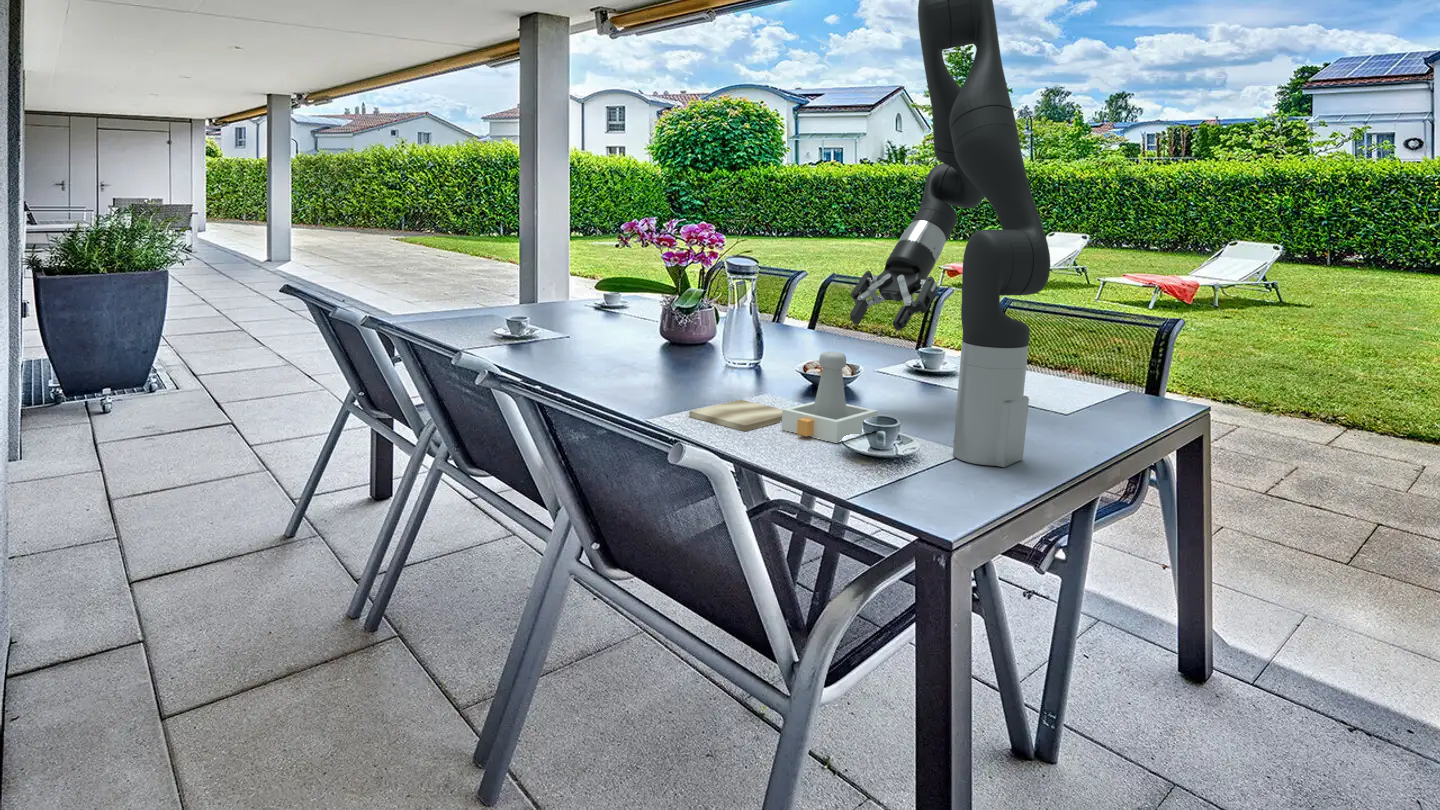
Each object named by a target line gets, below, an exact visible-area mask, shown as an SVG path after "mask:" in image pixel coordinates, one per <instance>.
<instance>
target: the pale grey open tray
mask: <svg viewBox="0 0 1440 810" xmlns="http://www.w3.org/2000/svg"><path fill="white" fill-rule="evenodd" d="M814 403H815V400H814V401H811V402H807V403H804V404H803V403H802V404H797V405H796V406H795V405H794V406H791V407H787V408H781V409H782V422H781V431H783V430H785V431H784V432H787V431H789V432H788V433H791V432H794V433H793V434H795V433H797V434H796V435H799V436H803V437H806V438H808V437H807V436H811V437H815V438H820V439H823V440H827V441H831V442H839V441H840V440H841V439H842V438H843V437H844V436H846V435H850V434H861V433H862V422H863V421H864V420H865V419H867V418H870V417H875V416H877V417H878V415H879V414H878V412H879V411H878V410H876V409H871V408H867V407H863V406H862V407H861V406H858V405H852V404H848V403H846V408H847V415H848V417H844V418H841V419H837V420H834V419H830V418H826V417H821V416H817V415H813V414H812V412H813V408H814Z"/></svg>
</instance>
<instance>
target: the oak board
mask: <svg viewBox="0 0 1440 810" xmlns="http://www.w3.org/2000/svg"><path fill="white" fill-rule="evenodd" d="M782 409H783V408H778V407H774V406H770V405H766V404H761V403H757V402H753V401H748V400H745V399H744V400H743V399H737V400H733V401H729V402H723V403H719V404H715V405H710V406H706V407H702V408H698V409H697V408H696V409H693V410H689V412H688V413H689V415H688V417H690V418H693V419H697V420H701V421H703V422H708V423H711V424H715V425H716V424H717V425H720V426H723V427H728V428H730V429H735V430H739V431H742V432H749V431H753V430H755V429H760V428H764V427H768V426H771V425H770V424H772V425H774V423H776V424H778V423H777V422H779V423H781V422H780V421H782ZM767 425H768V426H767ZM763 426H764V427H763ZM752 429H753V430H752Z"/></svg>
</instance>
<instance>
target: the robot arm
mask: <svg viewBox="0 0 1440 810" xmlns="http://www.w3.org/2000/svg"><path fill="white" fill-rule="evenodd" d="M917 6H918V7H917V19H918V20H917V21H918V23H917V24H918V31H919V32H918V33H919V39H920V40H919V41H920V46H921V53H922V59H923V68H924V71H925V72H924V73H925V78H926V84H927V89H928V95H929V100H930V105H931V115H932V133H933V150H934V151H933V152H934V156H935V157H936V159H937V160H938V161H939V162H941V163H939V164H937V165H935V166H934V167H932V168H931V169H930V170H929V172H928V174H927V177H926V180H925V186H924V191H923V195H922V199H921V202H920V205H919V208H918V210H917V212H916V214H915V215H914V217H912V220H911V222H910V224H909V225H908V226H907V227H906V229H905V230H904V231H903V233H902V234H901V236H900V238H899V239H898V240H897V243H896V244H895V246H894V247H893V249H892V251H891V253H890V254H889V256H888V258H887V259H886V262H885V266H884V269H883V271H882V272H881V273H879V274H878V275H877V274H872V271H871V270H867V271H865V272H864V273H863V275H862V276H861V278H860V279H859V281H858V282H857V284H856V285H855V287H854V288H853V290H852V291H851V293H850V296H851V298H852V300H853V301H854V303H855V305H854V306H853V309H851V311H850V313H849V318H850V321H851V322H852V323H853V325H856V326H858V325H859V326H860V323H861V321H862V320H863V319H864V316H865V315H866V313H867V311H868V308H870V307H872V306H873V305H875V304H877V305H878V304H880V303H882V302H883V301H895V302H899V303H900V302H902V301H903V304H904V306H903V305H902V306H900V308H899V311H898V312H897V314H896V316H895V317H894V319H893V321H892V325H893V328H894V329H895V331H896V332H897V331H899V332H901V331H902V330H903V329H905V327H907V325H908V323H909V321H910V319H911V318H912V316H913V315H915V314H916V313H920V314H925V313H926V312H927V311H928V310H929V307H930V305H931V303H932V301H933V300H934V298H935V295H936V293H937V291H938V289H939V287H938V285H937V283H936V281H935V279H934V277H933V276H931V275H930V273H931V272H932V270H933V268H934V267H935V265H936V263H937V261H938V260H939V258H940V256H941V255H942V252H943V250H944V247H945V245H946V243H947V241H948V239H949V237H950V236H951V235H952V232H953V230H954V229H955V228H956V227H955V226H956V224H957V222H958V221H957V220H958V215H957V212H956V210H955V209H954V208H953V207H956V208H957V207H958V208H963V209H973V208H975V207H977V206H978V205H979V204H980V203H981V202H982V201H983V199H984V198H985V199H986V200H987V202H988V203H989V204H990V205H991V207H992V208H993V209H994V212H995V213H996V216H997V218H998V221H999V223H1000V225H1001V229H996V228H995V229H981V230H976V231H975V232H974V233H973V234H972V235H971V236H970V237H969V239H968V241H967V243H966V246H965V248H964V253H963V260H962V273H961V274H962V275H961V276H962V277H961V280H962V281H961V283H962V284H961V307H960V308H961V309H960V316H961V327H962V336H961V337H962V338H961V340H962V341H961V350H960V359H959V360H960V362H959V373H958V384H957V385H958V386H957V387H958V388H957V395H956V396H957V398H956V399H957V400H956V409H955V410H956V411H955V421H954V422H955V423H954V436H953V447H952V448H953V449H952V455H953V457H954V458H957V459H959V460H960V461H963V462H965V463H970V464H975V465H982V466H993V467H994V466H997V467H1002V468H1006V467H1008V466H1011V465H1013V464H1016V463H1017V462H1019V461H1022V460H1023V459H1024V451H1025V450H1024V449H1025V441H1026V433H1027V432H1026V431H1027V421H1028V412H1029V401H1030V397H1029V396H1026V395H1025V394H1024V392H1025V386H1026V385H1025V382H1026V375H1027V364H1028V355H1029V354H1028V352H1029V345H1030V336H1031V328H1030V327H1029V325H1028V324H1027V323H1025V322H1023V321H1021V320H1018V319H1015V318H1013V317H1010V316H1008V315H1007V314H1005V313H1004V311H1002V308H1001V301H1000V300H1001V298H1000V296H1005V297H1007V296H1029V295H1031V296H1032V295H1035V294H1038V293H1039V292H1041V291H1043V290H1044V288H1045V287H1046V284H1047V283H1048V281H1049V277H1050V272H1051V270H1050V269H1051V253H1050V249H1049V243H1048V240H1047V236H1046V234H1045V229H1044V226H1043V224H1042V221H1041V218H1040V215H1039V212H1038V209H1037V206H1036V204H1035V201H1034V197H1033V194H1032V190H1031V187H1030V184H1029V180H1028V176H1027V172H1026V168H1025V163H1024V158H1023V154H1022V153H1023V152H1022V150H1021V144H1020V143H1021V142H1020V137H1019V131H1018V126H1017V122H1016V117H1015V113H1014V109H1013V106H1012V101H1011V98H1010V93H1009V90H1008V84H1007V81H1006V77H1005V73H1004V67H1003V63H1002V56H1001V49H1000V43H999V42H1000V41H999V35H998V26H997V21H996V13H995V6H994V1H993V0H918V5H917ZM969 45H974V46H975V49H976V50H975V55H974V58H973V61H972V64H971V68H970V70H969V73H968V75H967V77H966V79H965V81H964V83H963V84H962V86H960V85H959V84H958V82H957V81H956V80H955V79H954V77H953V76H952V74H951V73H950V71H949V69H948V68H947V66H946V63H945V59H944V57H943V56H944V55H943V51H944V50H949V49H953V48H959V47H963V46H969ZM877 291H878V292H879V295H877ZM918 291H919V293H918ZM915 293H918V295H917V297H916V299H915V300H914V296H913V295H914V294H915ZM870 297H871V298H870ZM867 299H868V300H867Z"/></svg>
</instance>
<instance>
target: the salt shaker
mask: <svg viewBox="0 0 1440 810" xmlns="http://www.w3.org/2000/svg"><path fill="white" fill-rule="evenodd" d="M818 360H819V361H818V362H819V366H820V367H821V368H822V370H821V374H820V378H819V382H818V386H817V391H816V395H815V400H814V401H815V403H814V408H813V412H812V414H813V415H817V416H821V417H826V418H830V419H834V420H837V419H841V418H844V417H848V415H847V408H846V404H847V402H846V395H845V394H846V393H845V385H844V376H843V369H844V368H845V367H846V366H847V356H846V355H845V353H843V352H839V351H831V350H830V351H825V352H822V353H821V354H819V359H818Z"/></svg>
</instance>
